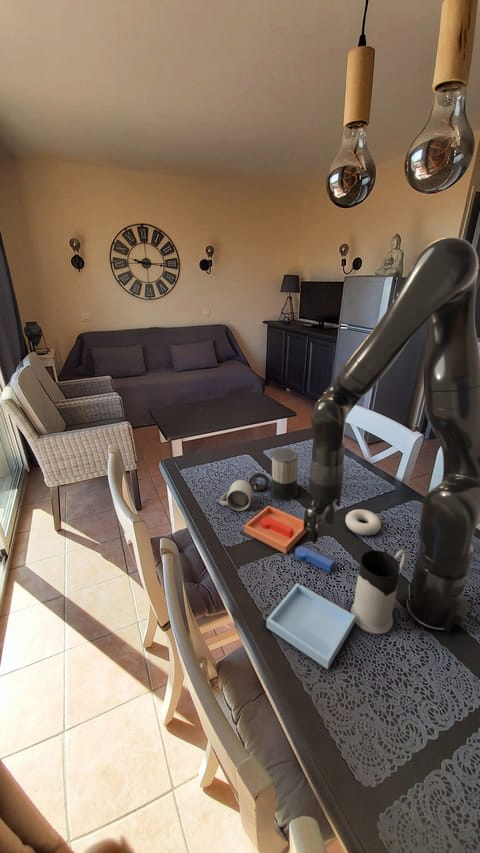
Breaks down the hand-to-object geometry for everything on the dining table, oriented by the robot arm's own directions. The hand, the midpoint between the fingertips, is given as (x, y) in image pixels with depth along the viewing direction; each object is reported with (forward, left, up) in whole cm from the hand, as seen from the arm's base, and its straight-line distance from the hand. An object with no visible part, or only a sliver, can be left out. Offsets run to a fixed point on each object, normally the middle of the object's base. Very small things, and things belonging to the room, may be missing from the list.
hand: (321, 531), depth 90 cm
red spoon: (+16, -4, -10) cm, 19 cm away
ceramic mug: (+34, -7, -10) cm, 36 cm away
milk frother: (+29, -21, -10) cm, 37 cm away
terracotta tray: (+16, -4, -10) cm, 19 cm away
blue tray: (-7, +17, -10) cm, 21 cm away
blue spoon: (+1, 0, -10) cm, 10 cm away
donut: (-3, -21, -10) cm, 23 cm away
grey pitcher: (-17, +4, -10) cm, 20 cm away
